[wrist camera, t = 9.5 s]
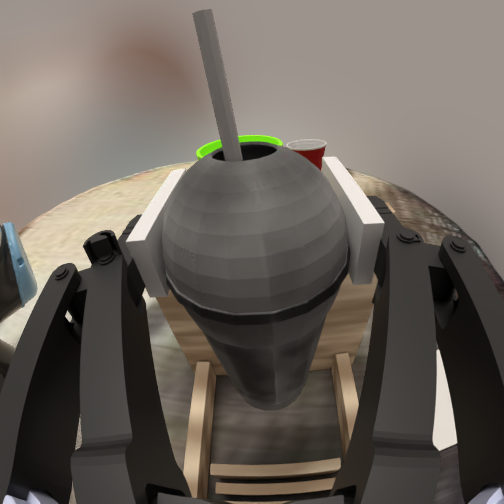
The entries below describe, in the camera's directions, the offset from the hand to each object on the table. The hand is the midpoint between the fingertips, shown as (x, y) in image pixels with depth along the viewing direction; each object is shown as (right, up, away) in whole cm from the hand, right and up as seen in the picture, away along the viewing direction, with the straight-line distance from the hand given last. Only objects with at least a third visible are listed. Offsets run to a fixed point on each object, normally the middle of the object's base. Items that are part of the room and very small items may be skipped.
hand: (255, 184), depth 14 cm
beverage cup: (+1, -13, +4) cm, 13 cm away
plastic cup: (+15, +15, +61) cm, 64 cm away
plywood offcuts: (+2, -28, +6) cm, 29 cm away
